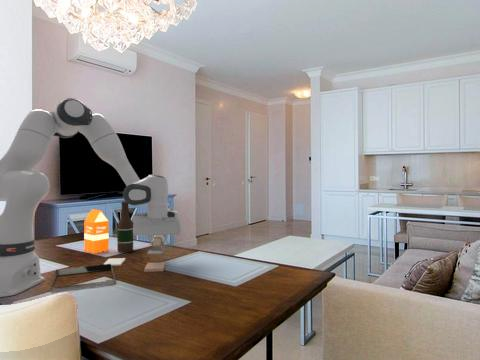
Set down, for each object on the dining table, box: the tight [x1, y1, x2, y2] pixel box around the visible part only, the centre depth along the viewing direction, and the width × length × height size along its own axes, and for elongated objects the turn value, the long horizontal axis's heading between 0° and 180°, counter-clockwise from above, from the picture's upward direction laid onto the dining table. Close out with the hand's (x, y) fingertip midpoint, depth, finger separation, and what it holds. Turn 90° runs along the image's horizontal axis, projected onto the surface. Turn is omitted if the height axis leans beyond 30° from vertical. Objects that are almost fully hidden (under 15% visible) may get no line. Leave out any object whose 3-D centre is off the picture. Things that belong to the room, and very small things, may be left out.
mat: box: [103, 257, 126, 267], centre depth 143 cm, size 10×7×1 cm
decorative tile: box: [49, 263, 116, 293], centre depth 121 cm, size 20×3×20 cm
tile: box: [144, 261, 166, 273], centre depth 135 cm, size 2×7×9 cm
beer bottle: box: [116, 200, 134, 253], centre depth 165 cm, size 8×8×24 cm
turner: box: [147, 235, 165, 255], centre depth 142 cm, size 12×6×5 cm, turn 7°
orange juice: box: [83, 208, 110, 254], centre depth 165 cm, size 8×9×20 cm
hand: (157, 245), depth 145 cm, fingers closed on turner, 3 cm apart
